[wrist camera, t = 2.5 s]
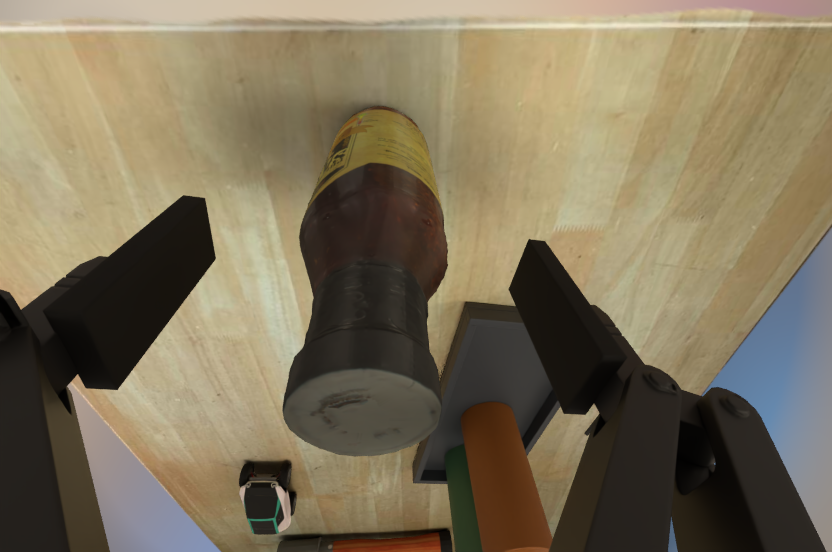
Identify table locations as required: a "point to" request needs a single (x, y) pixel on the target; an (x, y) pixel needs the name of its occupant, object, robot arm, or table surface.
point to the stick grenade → (373, 544)
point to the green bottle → (462, 502)
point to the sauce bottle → (370, 292)
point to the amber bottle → (503, 482)
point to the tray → (487, 384)
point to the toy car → (267, 499)
